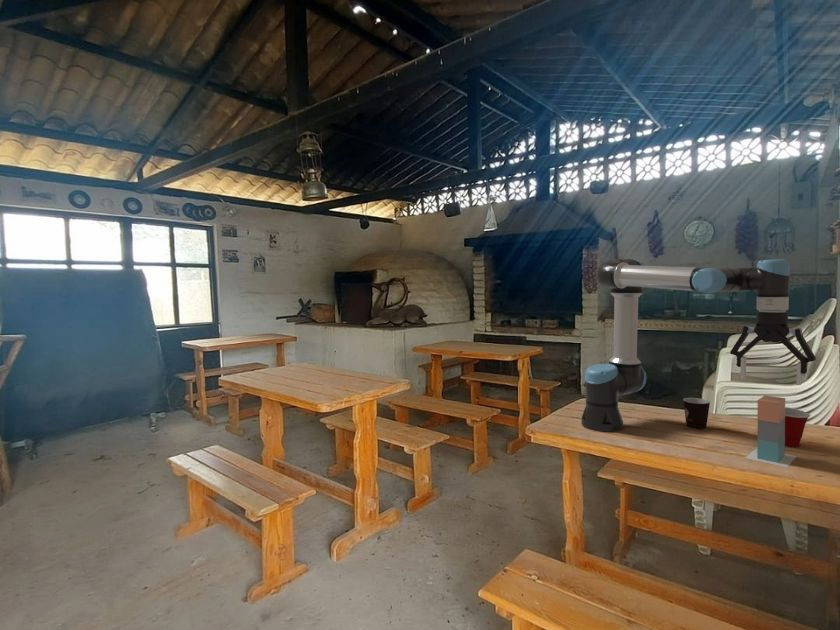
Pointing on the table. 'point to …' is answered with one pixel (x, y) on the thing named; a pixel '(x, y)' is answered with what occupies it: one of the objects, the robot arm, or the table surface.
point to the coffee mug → (696, 412)
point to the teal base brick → (770, 450)
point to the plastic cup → (794, 426)
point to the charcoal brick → (771, 431)
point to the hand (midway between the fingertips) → (770, 381)
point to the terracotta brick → (771, 409)
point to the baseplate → (783, 462)
